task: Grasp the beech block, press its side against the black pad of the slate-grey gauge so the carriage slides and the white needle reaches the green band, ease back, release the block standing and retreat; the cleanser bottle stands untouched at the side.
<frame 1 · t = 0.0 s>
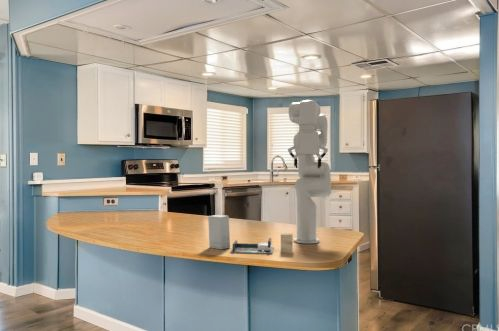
hand: (307, 168, 186), 37 cm above the table, tool pointing down, fingers open, 9 cm apart
skincare box: (219, 248, 195), on the table
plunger: (264, 244, 188), point 3 cm above the table, slide at 0.0 cm
beech block: (286, 251, 188), on the table
gauge base: (250, 250, 190), on the table
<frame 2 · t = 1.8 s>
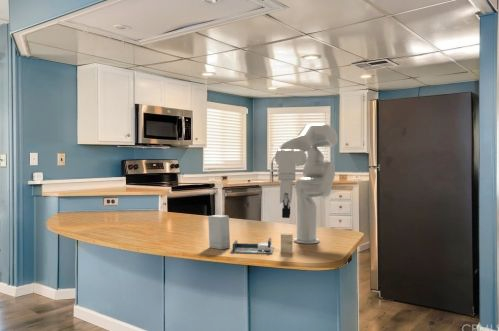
hand: (286, 216, 187), 16 cm above the table, tool pointing down, fingers open, 9 cm apart
nothing on the table moved.
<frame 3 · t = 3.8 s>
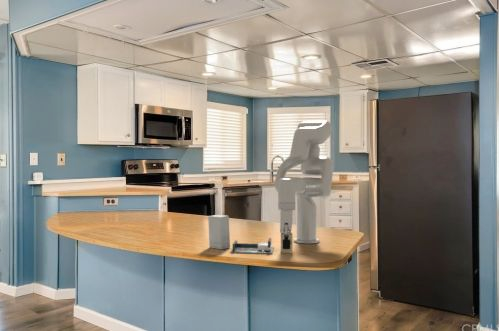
hand: (286, 247, 188), 2 cm above the table, tool pointing down, fingers closed on beech block, 5 cm apart
beech block: (286, 251, 188), on the table, touching gripper
everything else where it was.
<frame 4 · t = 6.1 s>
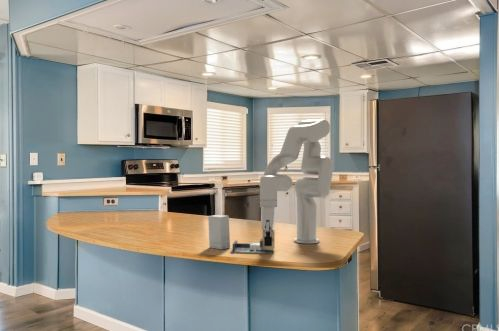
hand: (268, 244, 189), 3 cm above the table, tool pointing down, fingers closed on beech block, 5 cm apart
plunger: (256, 244, 188), point 3 cm above the table, slide at 3.5 cm, touching beech block
beech block: (268, 248, 189), point 1 cm above the table, touching gripper, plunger
everything else where it was.
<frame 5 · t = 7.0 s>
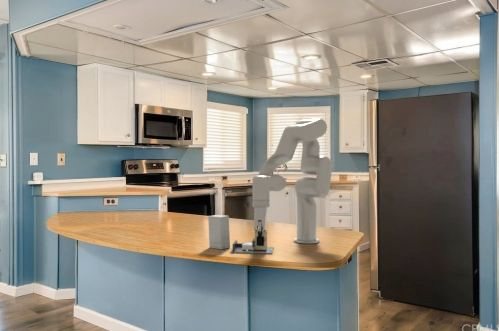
hand: (260, 243, 189), 3 cm above the table, tool pointing down, fingers closed on beech block, 5 cm apart
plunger: (248, 244, 189), point 3 cm above the table, slide at 6.9 cm
beech block: (260, 248, 189), point 1 cm above the table, touching gripper
everything else where it was.
when the fingers open (3 cm above the table, at t = 8.5 s): beech block stays where it is, resting on gauge base.
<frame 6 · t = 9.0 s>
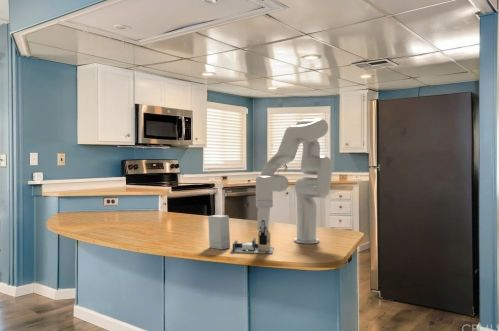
hand: (264, 242, 189), 4 cm above the table, tool pointing down, fingers open, 9 cm apart
beech block: (264, 249, 189), resting on gauge base
everything else where it was.
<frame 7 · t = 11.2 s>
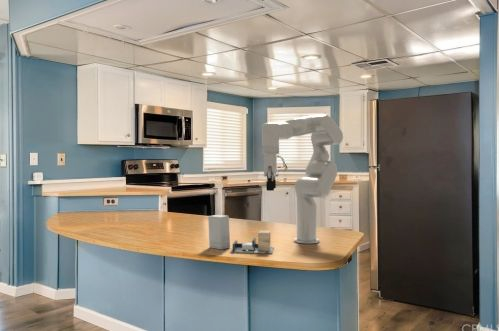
hand: (271, 189, 190), 27 cm above the table, tool pointing down, fingers open, 9 cm apart
nothing on the table moved.
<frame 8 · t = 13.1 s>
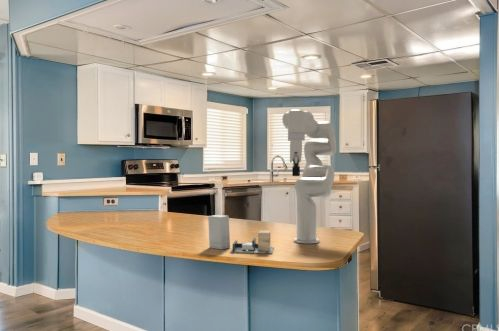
hand: (296, 175, 192), 33 cm above the table, tool pointing down, fingers open, 9 cm apart
nothing on the table moved.
at the end: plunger slide at 6.9 cm; the gripper is holding nothing; beech block tilted 0° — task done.
